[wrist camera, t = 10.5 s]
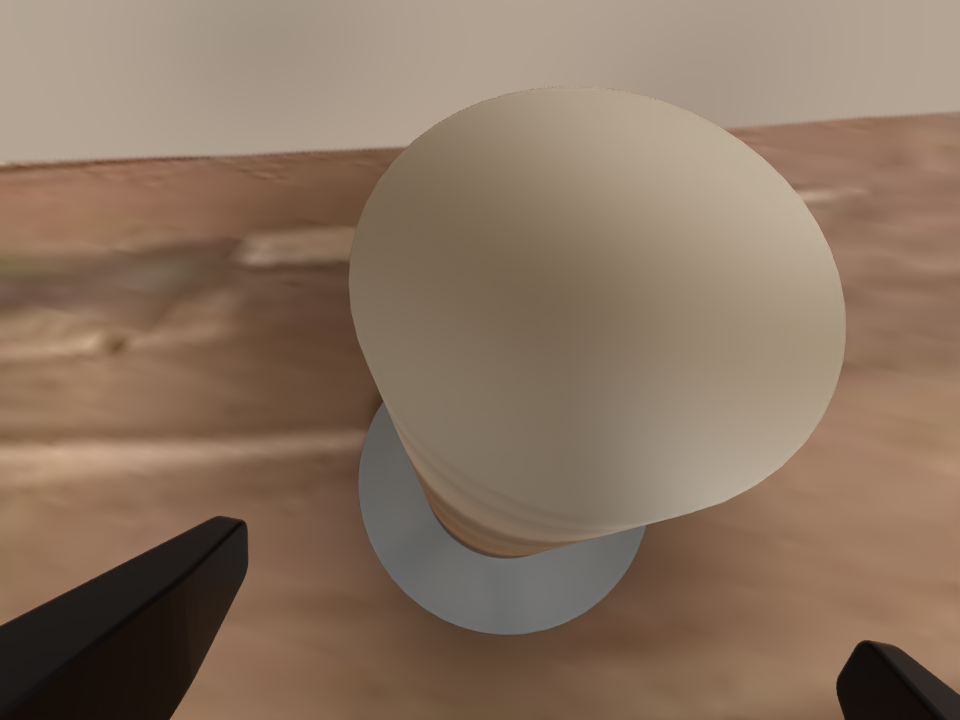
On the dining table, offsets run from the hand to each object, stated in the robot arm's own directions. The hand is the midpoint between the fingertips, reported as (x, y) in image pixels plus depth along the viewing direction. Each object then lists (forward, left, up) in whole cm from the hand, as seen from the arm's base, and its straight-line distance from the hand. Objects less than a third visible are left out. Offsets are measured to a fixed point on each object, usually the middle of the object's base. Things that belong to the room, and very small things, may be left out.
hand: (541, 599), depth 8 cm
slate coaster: (+3, +1, -11) cm, 12 cm away
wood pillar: (+3, +1, -10) cm, 10 cm away
